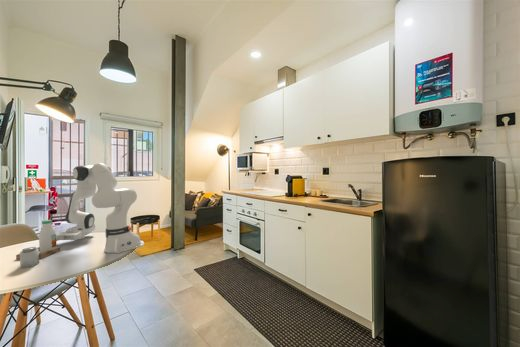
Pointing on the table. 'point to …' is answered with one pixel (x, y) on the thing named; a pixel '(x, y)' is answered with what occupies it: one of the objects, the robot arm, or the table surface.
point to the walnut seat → (44, 253)
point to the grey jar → (29, 257)
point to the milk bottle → (47, 237)
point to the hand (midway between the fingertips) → (53, 240)
